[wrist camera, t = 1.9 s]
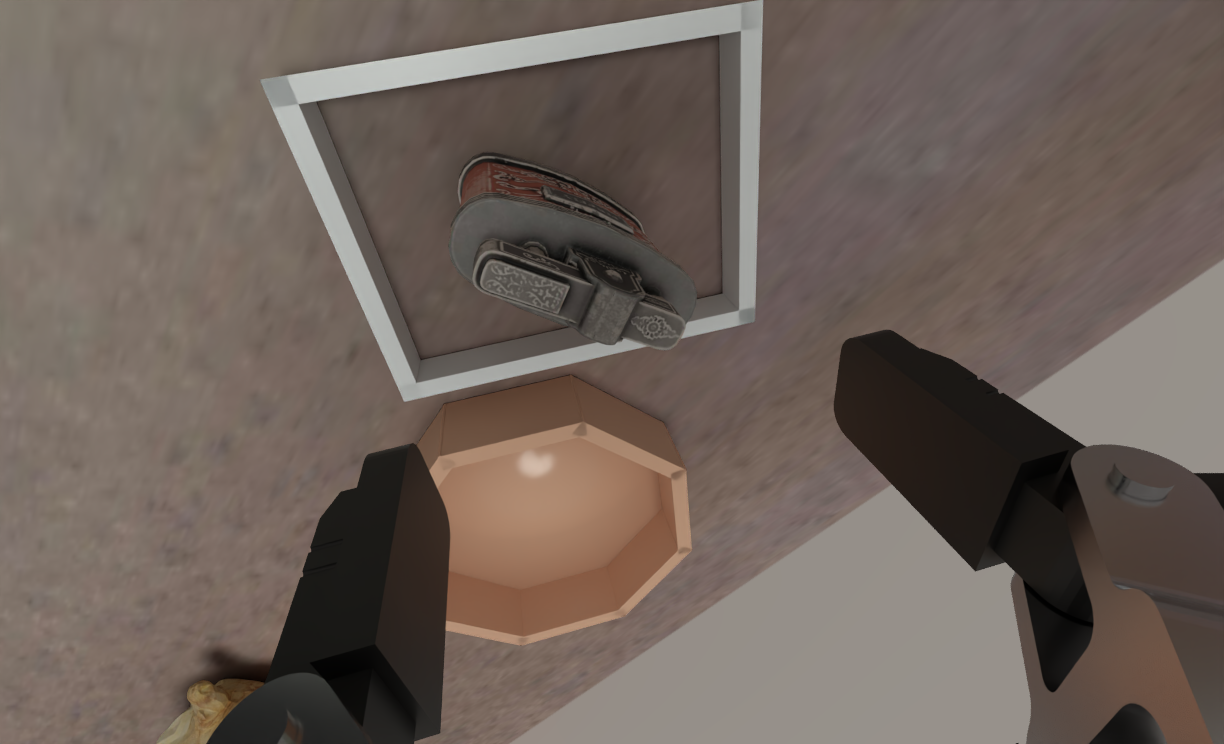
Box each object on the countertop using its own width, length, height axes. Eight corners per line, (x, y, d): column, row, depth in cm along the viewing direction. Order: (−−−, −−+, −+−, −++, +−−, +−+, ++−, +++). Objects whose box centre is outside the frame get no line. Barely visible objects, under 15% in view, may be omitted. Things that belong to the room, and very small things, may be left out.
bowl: (657, 354, 27) (681, 397, 23) (675, 545, 35) (695, 596, 32) (349, 425, 25) (329, 482, 22) (448, 607, 34) (444, 667, 31)
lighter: (653, 211, 23) (750, 304, 14) (620, 279, 24) (693, 399, 16) (473, 132, 20) (466, 192, 11) (447, 214, 21) (425, 322, 13)
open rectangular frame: (738, 3, 19) (763, -1, 18) (737, 304, 26) (754, 321, 25) (280, 76, 18) (259, 80, 16) (409, 377, 24) (404, 401, 23)
